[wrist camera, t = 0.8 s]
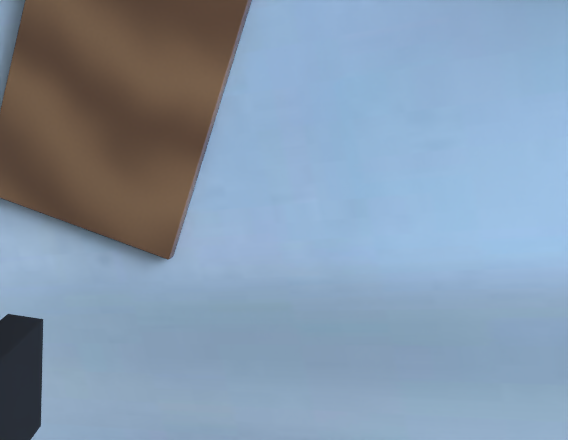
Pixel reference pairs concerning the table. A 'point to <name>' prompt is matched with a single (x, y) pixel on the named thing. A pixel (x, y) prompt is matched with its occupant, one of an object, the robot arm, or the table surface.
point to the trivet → (115, 111)
